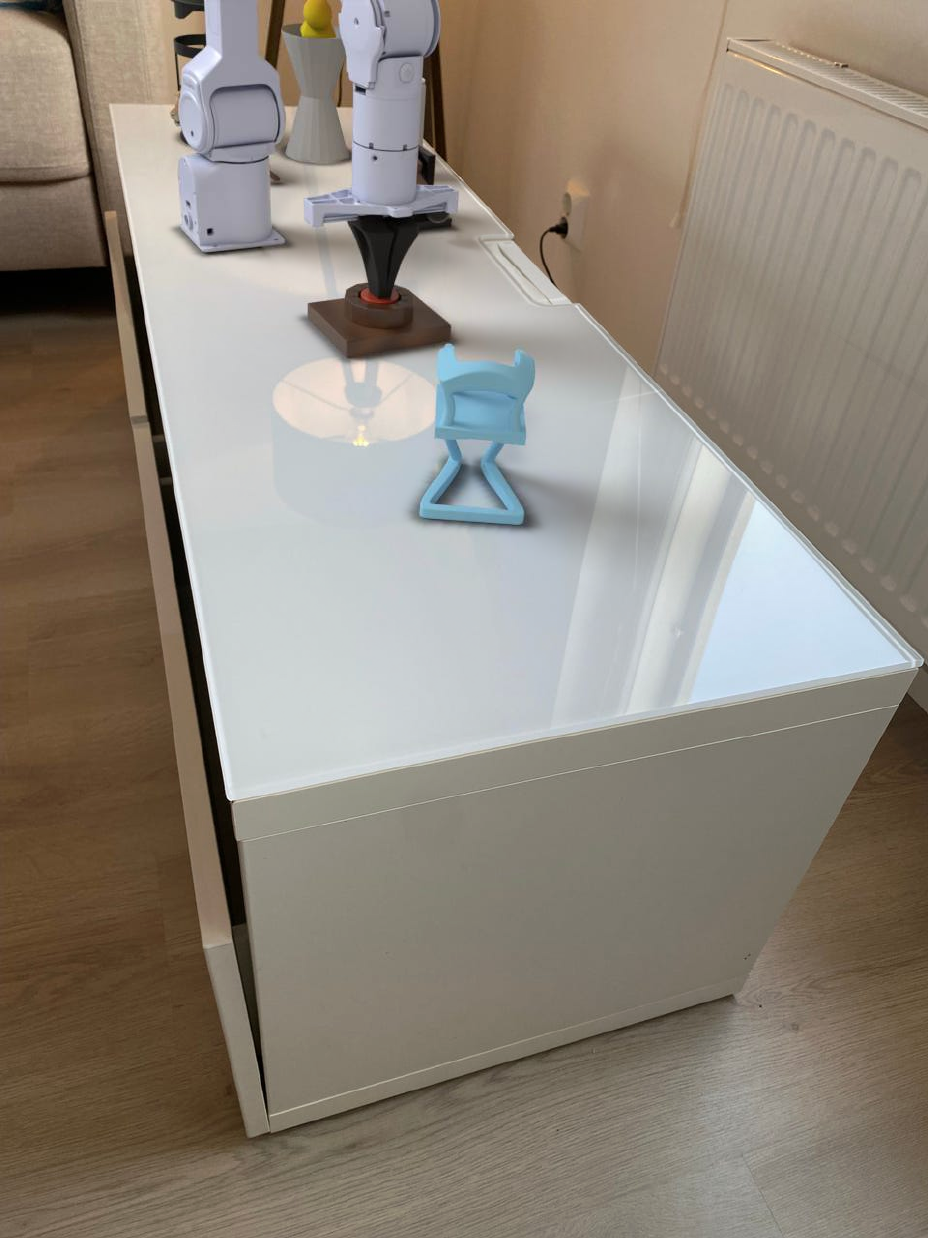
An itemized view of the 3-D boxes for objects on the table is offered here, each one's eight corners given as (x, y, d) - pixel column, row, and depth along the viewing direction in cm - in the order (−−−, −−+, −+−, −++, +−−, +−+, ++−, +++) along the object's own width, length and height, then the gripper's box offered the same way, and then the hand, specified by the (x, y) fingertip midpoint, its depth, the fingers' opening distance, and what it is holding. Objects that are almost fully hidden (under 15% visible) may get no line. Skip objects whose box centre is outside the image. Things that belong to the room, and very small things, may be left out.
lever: (452, 226, 116) (457, 203, 113) (429, 229, 115) (434, 205, 112) (411, 170, 120) (415, 147, 118) (388, 172, 119) (393, 148, 117)
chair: (518, 466, 81) (539, 324, 73) (523, 526, 74) (546, 378, 67) (422, 459, 80) (433, 315, 72) (419, 518, 74) (430, 368, 66)
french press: (249, 151, 136) (240, -50, 121) (177, 148, 135) (159, -56, 120) (249, 127, 145) (241, -64, 130) (182, 123, 143) (166, -70, 129)
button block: (346, 359, 92) (347, 322, 90) (307, 319, 98) (306, 284, 96) (450, 341, 97) (453, 306, 95) (407, 304, 103) (408, 270, 100)
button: (370, 321, 94) (371, 303, 93) (354, 306, 97) (354, 288, 96) (404, 316, 96) (405, 298, 95) (387, 301, 98) (388, 284, 97)
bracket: (451, 228, 121) (457, 160, 116) (392, 235, 117) (395, 165, 112) (416, 203, 126) (420, 137, 121) (358, 209, 123) (360, 141, 118)
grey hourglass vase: (282, 142, 141) (274, -174, 118) (347, 145, 142) (351, -166, 120) (285, 163, 134) (278, -169, 111) (353, 165, 136) (359, -160, 113)
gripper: (327, 161, 81) (327, 321, 89) (481, 149, 87) (466, 300, 96) (292, 136, 85) (295, 291, 94) (441, 126, 91) (431, 273, 100)
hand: (379, 294), depth 95 cm, fingers closed, pressing on button
